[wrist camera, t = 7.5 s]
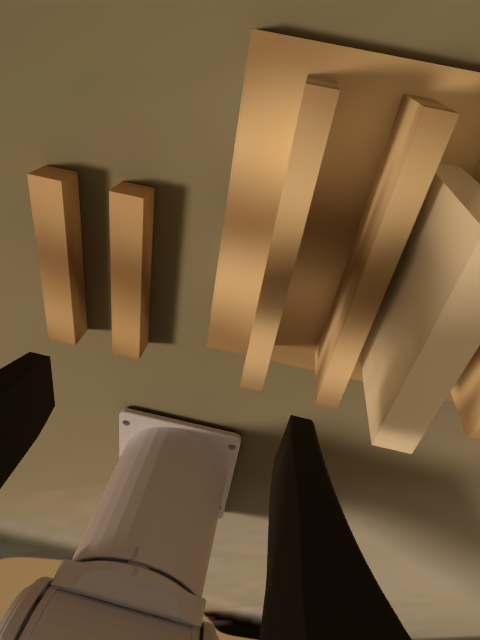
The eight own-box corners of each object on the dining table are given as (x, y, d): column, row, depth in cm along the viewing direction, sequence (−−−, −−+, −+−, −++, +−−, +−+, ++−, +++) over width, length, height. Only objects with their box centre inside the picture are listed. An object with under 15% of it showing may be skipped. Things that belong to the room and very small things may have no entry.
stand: (148, 343, 24) (139, 359, 23) (62, 323, 24) (48, 339, 23) (154, 187, 19) (143, 198, 18) (45, 165, 19) (27, 173, 18)
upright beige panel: (385, 336, 20) (411, 453, 15) (356, 329, 20) (371, 444, 15) (460, 167, 16) (543, 242, 10) (423, 159, 16) (484, 229, 10)
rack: (558, 412, 22) (605, 486, 19) (210, 335, 23) (189, 392, 19) (796, 133, 14) (960, 166, 11) (255, 28, 15) (235, 26, 11)
